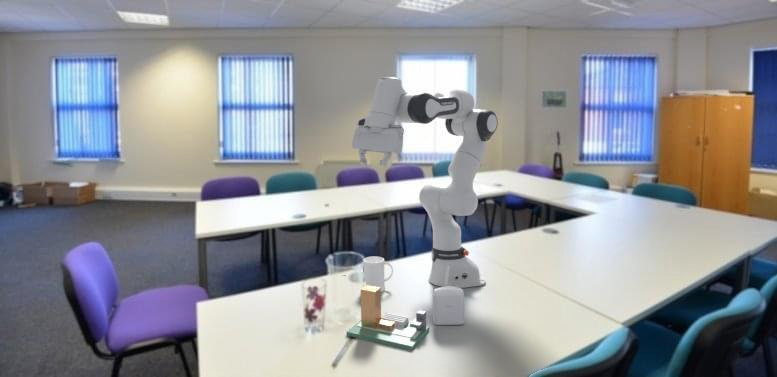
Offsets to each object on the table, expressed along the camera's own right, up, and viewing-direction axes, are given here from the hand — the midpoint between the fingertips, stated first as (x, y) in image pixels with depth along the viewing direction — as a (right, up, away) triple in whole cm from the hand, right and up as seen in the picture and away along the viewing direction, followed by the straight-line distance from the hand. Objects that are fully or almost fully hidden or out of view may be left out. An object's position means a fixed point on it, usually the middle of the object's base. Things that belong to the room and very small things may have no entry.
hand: (372, 164), depth 160 cm
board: (+5, -53, -9) cm, 54 cm away
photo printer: (+25, -52, -2) cm, 58 cm away
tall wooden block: (+2, -51, -7) cm, 52 cm away
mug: (+1, -47, +28) cm, 55 cm away
